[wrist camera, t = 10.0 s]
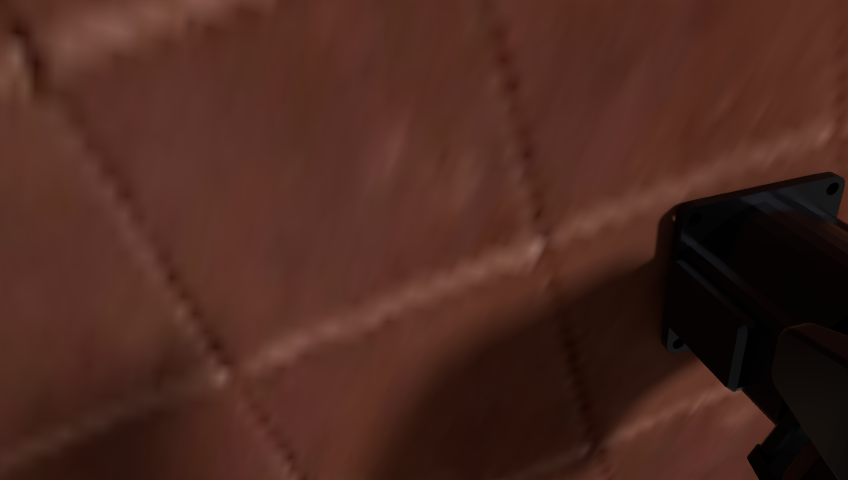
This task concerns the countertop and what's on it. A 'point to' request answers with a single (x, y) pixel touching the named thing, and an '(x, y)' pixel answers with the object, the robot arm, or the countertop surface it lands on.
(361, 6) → the countertop surface
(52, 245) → the countertop surface
